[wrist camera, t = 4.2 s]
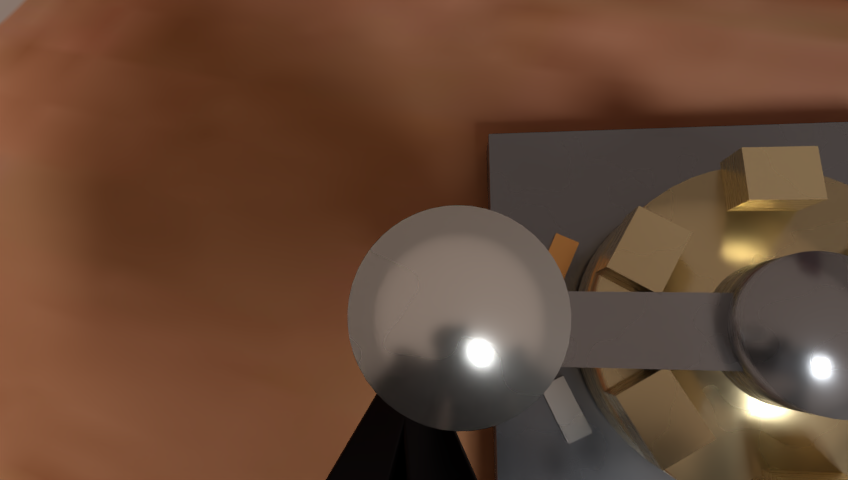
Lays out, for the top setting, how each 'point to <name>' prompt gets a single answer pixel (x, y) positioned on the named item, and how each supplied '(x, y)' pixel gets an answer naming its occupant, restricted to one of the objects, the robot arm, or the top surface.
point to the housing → (578, 241)
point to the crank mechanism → (634, 321)
